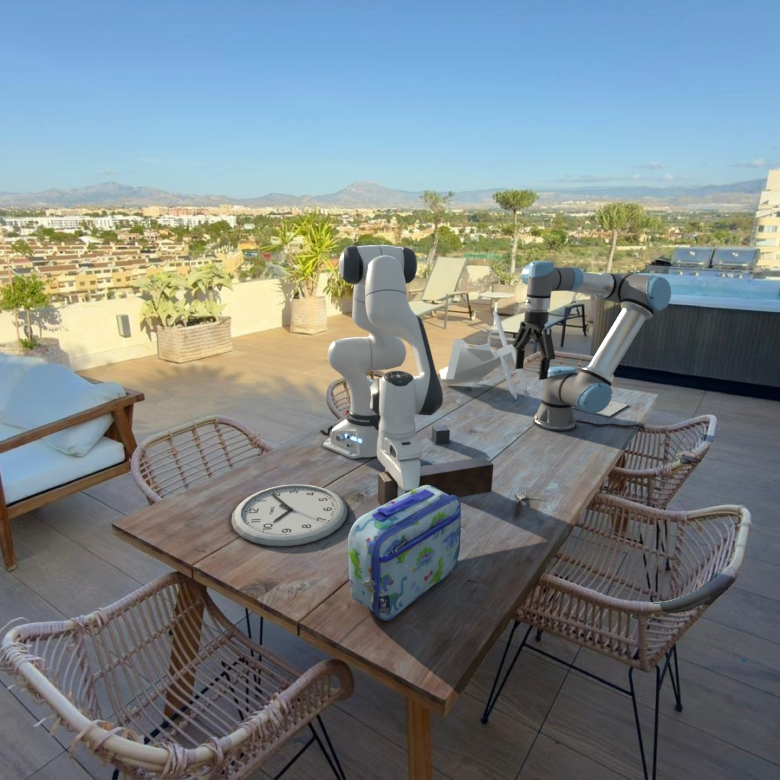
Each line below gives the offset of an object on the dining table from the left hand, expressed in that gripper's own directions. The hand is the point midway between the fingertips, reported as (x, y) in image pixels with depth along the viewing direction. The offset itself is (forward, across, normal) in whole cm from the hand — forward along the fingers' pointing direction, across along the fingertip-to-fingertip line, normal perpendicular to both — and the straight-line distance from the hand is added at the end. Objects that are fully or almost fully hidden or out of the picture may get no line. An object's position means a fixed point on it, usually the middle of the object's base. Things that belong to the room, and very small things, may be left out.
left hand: (395, 490), depth 130 cm
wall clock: (+10, -15, -24) cm, 30 cm away
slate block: (+10, -47, +35) cm, 60 cm away
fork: (+10, +1, +37) cm, 38 cm away
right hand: (-17, -33, +61) cm, 71 cm away
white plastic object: (+10, -94, +78) cm, 122 cm away
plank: (+4, 0, +11) cm, 12 cm away
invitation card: (+10, -60, +118) cm, 133 cm away
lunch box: (+10, +24, -6) cm, 27 cm away
